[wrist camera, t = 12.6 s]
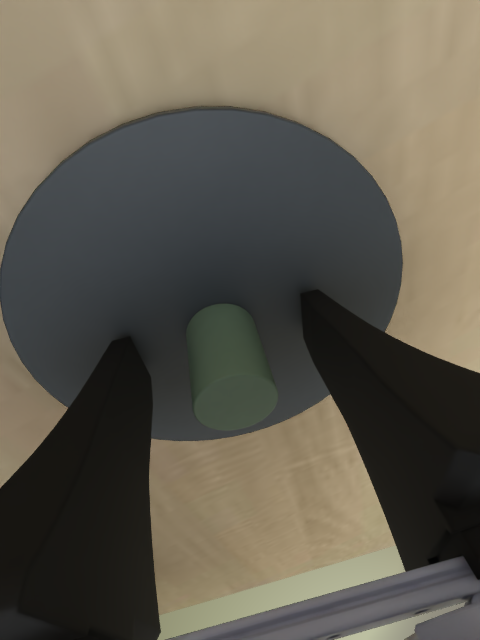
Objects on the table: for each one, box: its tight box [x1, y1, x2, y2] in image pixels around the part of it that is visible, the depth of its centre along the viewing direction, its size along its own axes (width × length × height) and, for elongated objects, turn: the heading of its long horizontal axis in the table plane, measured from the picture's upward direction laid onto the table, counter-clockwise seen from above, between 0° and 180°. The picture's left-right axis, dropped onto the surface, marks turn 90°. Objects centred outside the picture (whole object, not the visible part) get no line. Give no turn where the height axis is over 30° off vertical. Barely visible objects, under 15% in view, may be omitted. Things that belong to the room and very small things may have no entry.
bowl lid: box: [0, 106, 403, 441], centre depth 11 cm, size 13×13×4 cm
